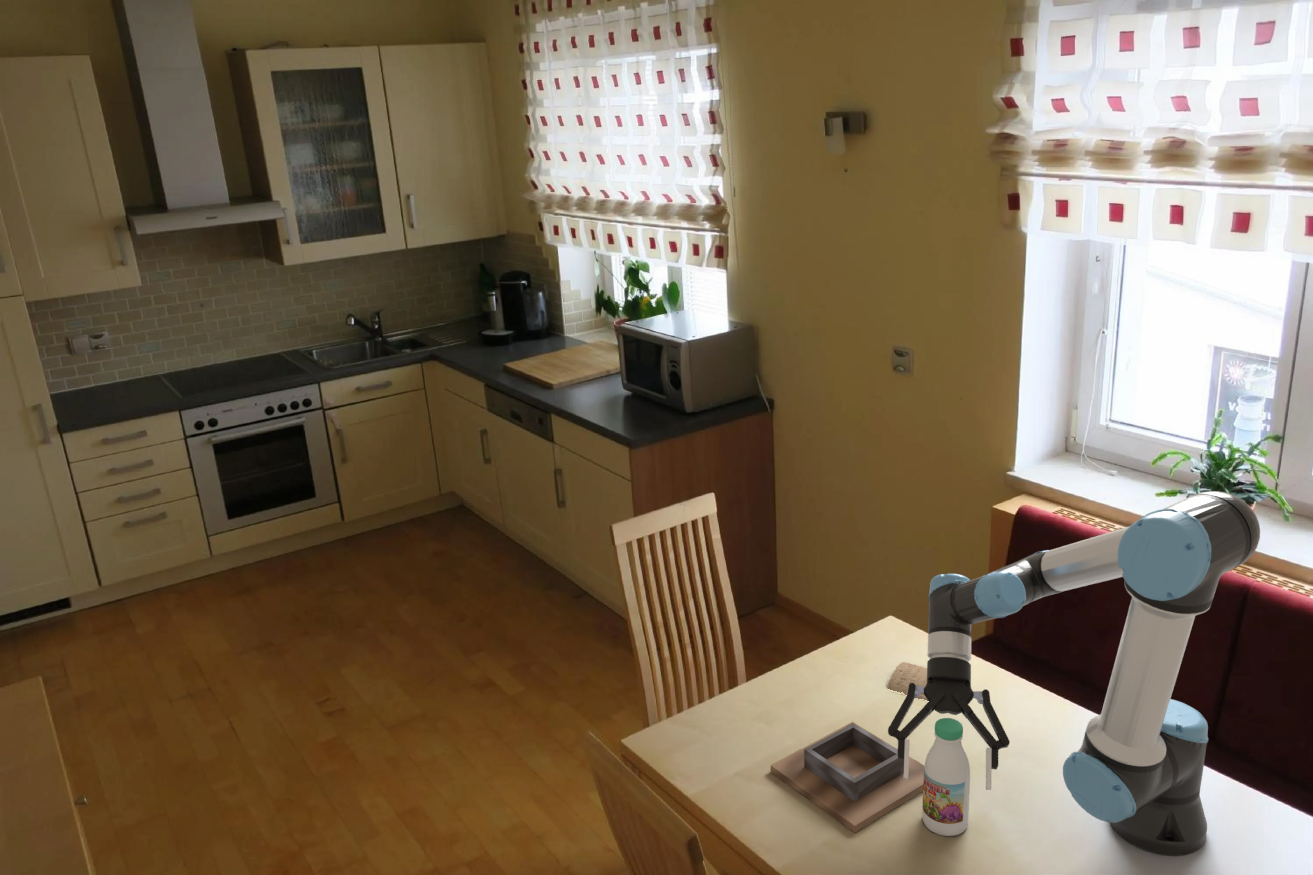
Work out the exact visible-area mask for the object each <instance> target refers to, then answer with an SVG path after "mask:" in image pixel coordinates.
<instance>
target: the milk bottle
mask: <svg viewBox="0 0 1313 875" xmlns="http://www.w3.org/2000/svg"><path fill="white" fill-rule="evenodd" d="M963 734H964V727H963V724H962V723H961V721H959V720H957V719H955V718H951V717H943V718H939V719H937V720H936V722H935V724H934V737H935V739H934V742H933V744H932V745H931V747H930V749H929V751H928V753H927V754H926V758H925V761H924V783H923V792H922V814H921V815H922V822H923V823H924V826H925V827H926V828H927V829H928V830H929V831H931V832H933V833H935V834H936V835H939V836H943V837H954V836H958V835H960V834H963V833H964V832H965V831H966V829H967V827H968V825H969V815H970V814H969V811H970V795H971V794H970V788H971V766H970V761H969V758H968V756H967V755H968V754H966V752H965V750H964V747H963V744H962V740H963V737H964V736H963Z"/></svg>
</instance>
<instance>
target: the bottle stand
mask: <svg viewBox="0 0 1313 875" xmlns="http://www.w3.org/2000/svg"><path fill="white" fill-rule="evenodd" d="M924 766H925V764H922V763H921V762H919V761H917V760H916V759H915V758H913V757H911V756H909V771H908V781H905V780H904V760H903V759H899V758H898V748H896V747H895V746H893V745H892V744H890V743H888V742H886V740H883V739H881V738H880V737H878V736H876V735H875V734H873V733H872V732H870V731H868V730H867V729H865V728H863V727H862V726H860V725H859V724H857V723H855V722H854V721H851V722H849V723H848V724H846V725H844V726H842V727H840V728H838V729H836V730H835V731H833V732H830V733H829V734H827V735H825V736H823V737H821V738H819V739H817V740H816V741H814V742H812V743H809V744H807V745H806V746H804V747H802V748H800V749H798V750H796V751H794V752H793V753H791V754H789V755H787V756H785V757H783V758H781V759H779V760H778V761H776V762H774V763H772V764H770V773H772V774H773V775H775V776H776V777H778V778H779V780H781V781H783V782H784V783H785V784H787V785H788V786H790V787H791V788H792V789H794V790H795V791H796V792H798V793H799V794H800V795H802V796H803V797H805V798H806V799H808V801H810V802H812V803H813V804H814V805H816V806H817V807H819V808H820V809H821V810H822V811H824V812H825V813H827V814H828V815H829V816H831V817H832V818H834V819H835V820H836V821H838V822H839V823H841V824H842V825H843V826H845V827H846V828H848V829H849V830H850V831H852V832H853V833H857V832H859V831H860V830H862V829H863V828H865V827H867V826H869V825H870V824H872V823H874V822H875V821H877V820H878V819H880V818H882V817H884V816H885V815H887V814H888V813H889V812H891V811H893V810H895V809H897V808H898V807H899V806H902V805H903V804H905V803H906V802H908V801H910V800H911V799H912V798H915V797H916V796H918V795H920V794H921V793H923V783H924Z"/></svg>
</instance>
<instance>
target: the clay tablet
mask: <svg viewBox="0 0 1313 875" xmlns="http://www.w3.org/2000/svg"><path fill="white" fill-rule="evenodd" d="M910 683H914V684H915V685H917V686H922V687H925V686H926V684H927V667H925V668H924V666H921V665H916V664H914V665H913V664H912V663H910V662H906V661H904V662H901V663H899V664H898V665H897V666H895V669H894V671H893V673H892V674H891V678H890V679H889V682H888V685H887V686H888V687H887V688H888V689H890V690H893V691H897V692H900V693H901V692H903V693H904V694H905V695H908V688H909V684H910ZM905 695H904V696H905ZM919 699H924V700H927V698H926V697H925V695H924V694H923V693H922V694H920V696H919V697H918V699H917V700H919ZM924 700H923V701H924ZM927 701H928V700H927Z"/></svg>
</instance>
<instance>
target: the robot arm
mask: <svg viewBox="0 0 1313 875" xmlns="http://www.w3.org/2000/svg"><path fill="white" fill-rule="evenodd" d="M1260 539H1261V528H1260V522H1259V520H1258V517H1257V515H1256V513H1255V512H1254V511H1253V509H1252V507H1251V506H1250V505H1248V504H1247V503H1246V501H1244V500H1243V499H1242V498H1240V497H1238V496H1236V495H1234V494H1231V493H1228V492H1225V491H1218V490H1213V491H1211V490H1210V491H1204V492H1200V493H1196V494H1194V495H1190V496H1189V497H1187V498H1185V499H1183V500H1180V501H1177V502H1176V503H1174V504H1171V505H1169V506H1167V507H1166V506H1165V508H1161V509H1157V510H1154V511H1151V512H1149V513H1147V514H1145V515H1143V516H1142V517H1140V518H1139V519H1138V520H1136V521H1135V522H1133V523H1132V524H1131V525H1129V526H1126V527H1123V528H1120V529H1117V530H1113V531H1110V532H1106V533H1103V534H1100V535H1097V536H1092V537H1089V538H1087V539H1083V540H1079V541H1076V542H1073V543H1069V544H1066V545H1062V546H1060V547H1056V548H1053V549H1050V550H1049V549H1046V550H1042V551H1041V550H1040V551H1036V552H1034V553H1032V554H1029V555H1028V556H1026V557H1024V558H1021V559H1019V560H1017V561H1014V562H1013V563H1010V564H1008V565H1006V566H1002V567H1000V568H998V569H995V570H993V571H991V572H989V573H987V574H984V575H981V576H979V577H976V578H973V579H970V578H969V577H967V576H966V575H963V574H958V573H947V574H946V573H945V574H943V573H941V574H937V575H935V576H933V578H931V580H930V583H929V591H928V593H929V594H928V597H927V600H928V627H927V628H928V630H927V631H928V633H927V634H928V635H927V658H928V660H927V662H926V666H927V667H926V668H927V684H926V686H925V687H922V686H917V685H915V684H914V683H910V684H909V688H908V695H907V696H905V699H904V700H903V702H902V704H901V706H900V707H899V708H898V710H897V712H896V714H895V715H894V717H893V719H892V721H891V723H890V725H889V726H888V728H887V734H888V735H889V736H890V737H893V738H895V739H896V740H897V749H898V758H899V759H903V760H904V780H905V781H908V771H909V757H910V739H907V738H908V737H909V736H910V735H911V734H912V733H913V732H914V731H916V729H917V728H918V727H919V726H920V725H921V724H922V723H923V722H924V720H926V719H927V718H928V717H929V716H930V715H931V714H932V713H933V712H934V711H935V712H937V713H938V714H940V715H941V714H942V715H944V714H950V715H954V716H957V715H960V714H962V715H963V716H964V718H966V719H967V721H969V723H970V725H972V727H973V728H974V729H975V730H976V732H977V734H979V735H980V737H981V738H982V739H983V741H984V742H985V743H986V745H987V746H988V747H986V749H985V790H986V791H991V790H992V770H997V769H998V767H999V751H1000V749H1006V748H1008V747H1009V746H1010V740H1009V737H1008V735H1007V733H1006V731H1005V729H1004V727H1003V725H1002V723H1001V720H1000V719H999V717H998V715H997V713H996V710H995V708H994V706H993V704H992V703H991V695H990V690H988V689H983V690H982V691H980V690H978V691H977V690H976V691H974V690H973V689H972V684H971V683H972V669H971V668H972V665H971V663H970V661H971V659H972V625H975V624H978V623H981V622H986V621H990V620H994V619H1003V618H1006V617H1007V616H1009V615H1013V614H1016V613H1017V612H1019V611H1021V609H1022V608H1023V607H1024V606H1026V605H1029V604H1031V603H1032V602H1034V601H1037V600H1039V599H1041V598H1044V597H1048V596H1052V595H1055V594H1059V593H1062V592H1065V591H1070V590H1073V589H1074V590H1075V589H1078V588H1082V587H1087V586H1089V585H1090V586H1091V585H1094V584H1099V583H1102V582H1107V581H1111V580H1115V579H1119V578H1123V579H1124V588H1125V590H1126V592H1127V593H1128V594H1129V595H1130V596H1131V600H1130V604H1129V607H1128V611H1127V616H1126V619H1125V623H1124V627H1123V630H1122V634H1121V637H1120V641H1119V644H1118V648H1117V653H1116V656H1115V661H1114V664H1113V668H1112V671H1111V676H1110V679H1109V683H1108V686H1107V691H1106V693H1105V696H1104V702H1103V706H1102V710H1101V713H1100V714H1098V715H1095V716H1094V717H1092V718H1091V719H1090V720H1088V724H1087V726H1086V729H1085V732H1084V734H1083V735H1084V736H1083V739H1082V743H1081V747H1080V748H1079V749H1078V750H1077V751H1073V752H1072V753H1070V755H1068V757H1067V758H1066V759H1065V761H1064V762H1063V765H1062V777H1063V782H1064V783H1065V786H1066V789H1067V790H1068V791H1069V793H1070V795H1071V797H1072V798H1073V799H1074V801H1075V802H1076V803H1077V804H1078V805H1079V807H1080V808H1081V809H1082V810H1084V811H1085V812H1086V813H1087V814H1089V815H1091V817H1094V818H1095V819H1098V820H1099V821H1101V822H1102V821H1103V822H1104V823H1105V822H1106V823H1109V824H1110V825H1111V827H1112V828H1113V830H1114V831H1115V832H1116V833H1117V834H1118V835H1119V836H1120V837H1121V838H1123V839H1124V840H1126V841H1127V842H1128V843H1130V844H1132V845H1133V846H1135V847H1138V848H1140V849H1142V850H1145V851H1147V852H1150V853H1154V854H1159V855H1164V856H1165V855H1166V856H1184V855H1189V854H1191V853H1192V854H1193V853H1194V852H1196V851H1198V850H1200V849H1201V848H1202V847H1203V846H1204V844H1205V843H1206V839H1207V832H1208V823H1207V818H1206V815H1205V811H1204V807H1203V802H1202V800H1201V796H1200V793H1201V788H1202V787H1201V786H1202V779H1203V774H1204V772H1203V771H1204V766H1205V759H1206V750H1207V745H1208V742H1209V737H1208V730H1209V726H1208V721H1207V720H1206V719H1205V717H1204V716H1203V714H1201V712H1199V710H1197V709H1195V708H1194V707H1192V706H1190V705H1188V704H1186V703H1185V702H1182V701H1179V700H1176V699H1172V698H1171V697H1172V694H1173V691H1174V687H1175V686H1176V682H1177V678H1178V675H1179V671H1180V668H1181V664H1182V661H1183V658H1184V654H1185V651H1186V649H1187V648H1186V647H1187V645H1188V642H1189V638H1190V634H1191V631H1192V629H1193V628H1192V627H1193V625H1194V621H1195V619H1196V616H1198V615H1201V614H1204V613H1206V612H1208V611H1209V610H1210V608H1211V606H1212V603H1213V600H1214V597H1215V593H1216V590H1217V588H1218V584H1219V581H1220V579H1221V578H1222V576H1223V575H1224V574H1225V573H1228V572H1229V571H1231V570H1233V569H1235V568H1237V567H1239V566H1241V565H1242V564H1244V563H1246V562H1247V561H1248V560H1249V559H1250V558H1251V557H1252V555H1254V553H1255V551H1256V550H1257V548H1258V545H1259V543H1260ZM922 693H923V694H924V695H925V697H926V698H927V700H928V701H929V702H926V703H925V705H924V706H923V707H922V709H920V710H919V711H918V713H916V714H915V716H914V717H912V718H911V720H910V721H909V722H908V723H906V725H905V726H904V727H903V728H902V729H901V730H899V727H900V726H901V725H902V723H903V721H904V719H905V717H906V716H907V714H908V712H909V710H911V709H910V708H911V707H912V705H913V703H914V701H915V699H916V698H918V697H919V696H920V694H922ZM973 699H976V701H977V703H978V704H979V705H982V707H983V710H984V713H985V714H986V716H987V718H988V721H989V723H990V725H991V727H992V728H993V731H994V732H995V736H996V737H997V739H998V740H996V738H995V737H994V736H993V735H992V734H991V732H990V730H988V728H987V727H986V725H984V723H983V722H982V721H981V719H979V717H978V716H977V715H976V713H975V712H974V710H973V709H972V707H971V706H970V705H969V704H970V703H971V702H972V701H973Z"/></svg>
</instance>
